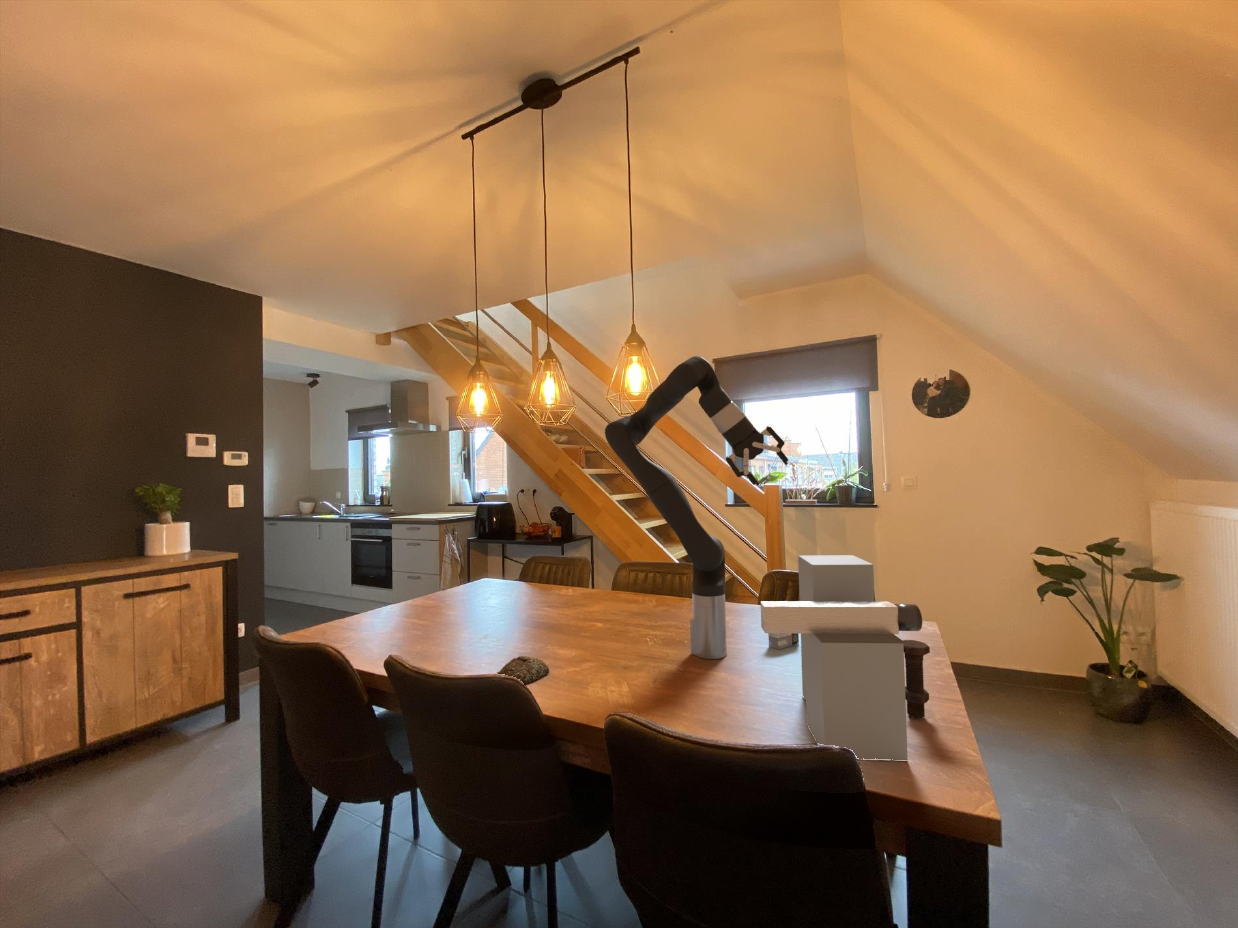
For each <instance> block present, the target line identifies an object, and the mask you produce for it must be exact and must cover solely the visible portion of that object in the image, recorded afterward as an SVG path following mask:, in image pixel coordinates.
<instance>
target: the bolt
mask: <svg viewBox="0 0 1238 928" xmlns="http://www.w3.org/2000/svg"><path fill="white" fill-rule="evenodd" d="M901 640H902V641H903V643H904V667H905V699H906V715H908V717H910V718H913V719H915V720H919V719H923V718H925V717H926V715H925V711H926V710H925V704H927V702H928V701H929V700H930V693H929V692H928V691H927V690H926V689H925V687H924V685H925V684H924V656H925V655H928V654H930V652H931V651H930V650H931V649H930V646H929V645H928V644H926V643H925V642H923V641H919V640H915V639H901Z"/></svg>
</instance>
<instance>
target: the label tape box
mask: <svg viewBox="0 0 1238 928" xmlns="http://www.w3.org/2000/svg"><path fill="white" fill-rule="evenodd" d="M767 635H768V646H769V647H770V648H773V649H775V650H782V649H785V648H788V647H791V646H795V645H799V643H800V641H799V640H800V638H799V634H798V633H767Z"/></svg>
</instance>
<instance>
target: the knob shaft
mask: <svg viewBox="0 0 1238 928" xmlns="http://www.w3.org/2000/svg"><path fill="white" fill-rule="evenodd" d="M760 622H761V623H760V624H761V625H760V626H761V629H762V631H763V632H764V634H768V633H798V635H799V634H800V635H801V634H894V635H899V634H900V633H899V632H919V631H921V630H922V628H923V617H922V612H921V610H920V607H918V605H917V604H915V603H914V604H913V603H908V604H905V603H904V604H903V603H899V604H898V603H892V602H891V601H888V600H887V601H884V600H883V601H880V600H879V601H800V600H797V601H796V600H795V601H789V600H784V601H783V600H782V601H781V600H780V601H777V600H776V601H774V600H773V601H772V600H770V601H766V600H765V601H764V600H763V601H760Z"/></svg>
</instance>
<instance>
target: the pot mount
mask: <svg viewBox="0 0 1238 928" xmlns="http://www.w3.org/2000/svg"><path fill="white" fill-rule="evenodd" d="M797 558H798V588H799V590H798V591H799V592H798V593H799V601H875V600H876V599H875V579H874V578H875V576H874V573H875V572H874V571H875V570H874V564H873V563H871V562H869V561H866V560H865V559H862V558H860V557H858V556H855V555H854V554H848V555H847V554H845V555H843V554H840V555H839V554H837V555H836V554H835V555H834V554H832V555H831V554H829V555H828V554H827V555H823V554H819V555H813V554H812V555H811V554H810V555H809V554H808V555H798V556H797ZM902 640H903V639H901V638H900V637H898V636H897V634H800V648H801V649H800V651H801V652H800V653H801V654H800V656H801V683H802V684H801V685H802V690H801V691H802V697H803V696H804V698H805V699H804V698H803V699H804V701H805V700H806V701H805V702H807V703H806V718H807V719H806V724H808V726H809V728H810V730H811V732H812V734H813V735H814V737H815V739H816V741H815V744H817V743H819V744H824V745H835V746H839V747H846V748H848V749H851V750H853V752H854V753H855V755H856V756H857V758H859V760H858V761H864V760H863V758H864V759H875V758H876V759H891V760H892V759H893V760H908V736H907V735H908V733H907V728H908V726H907V700H906V699H905V686H906V670H905V655H904V643H903V641H902ZM808 726H807V727H808ZM809 728H808V729H809ZM810 730H809V731H810ZM811 732H810V733H811ZM812 734H811V735H812ZM815 739H814V740H815ZM861 759H862V760H861Z"/></svg>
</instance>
